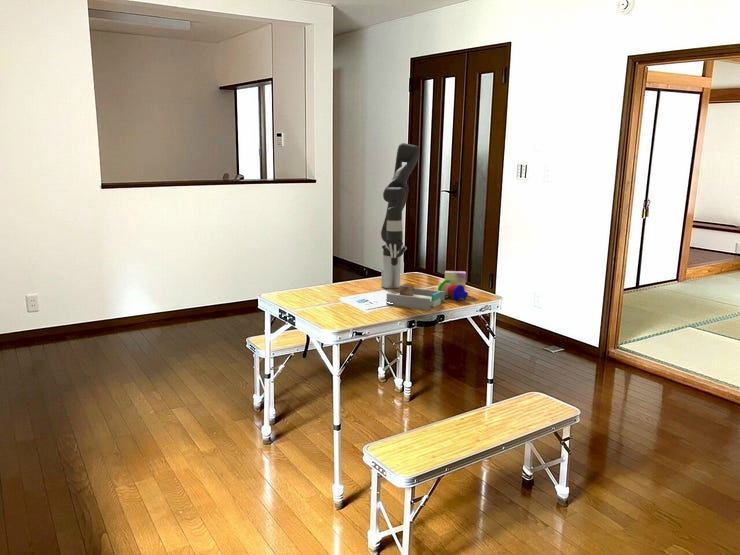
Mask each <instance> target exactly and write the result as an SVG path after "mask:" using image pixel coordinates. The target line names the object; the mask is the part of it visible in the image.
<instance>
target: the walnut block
mask: <svg viewBox="0 0 740 555" xmlns="http://www.w3.org/2000/svg"><path fill="white" fill-rule="evenodd" d="M414 286H415V285H414V284H410V283H403V284H400V287H399V293H400V295H404V296H413V295H414V288H415V287H414Z"/></svg>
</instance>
